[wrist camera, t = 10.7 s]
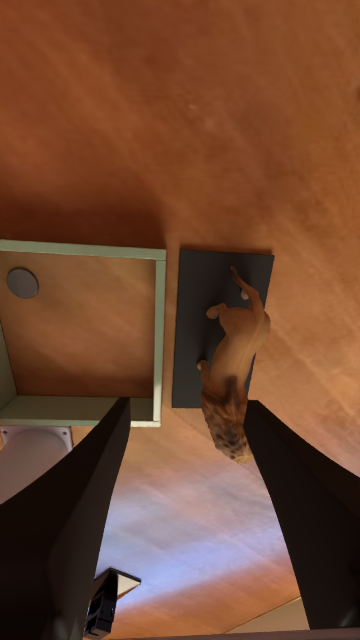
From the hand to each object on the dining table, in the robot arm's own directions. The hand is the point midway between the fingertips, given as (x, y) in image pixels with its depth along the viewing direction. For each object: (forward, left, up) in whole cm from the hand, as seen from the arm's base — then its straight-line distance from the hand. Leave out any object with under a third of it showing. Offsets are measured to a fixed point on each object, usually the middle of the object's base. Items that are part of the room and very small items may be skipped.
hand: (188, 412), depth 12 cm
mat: (+1, -4, -10) cm, 11 cm away
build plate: (-50, +11, -10) cm, 53 cm away
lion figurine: (+1, -5, -10) cm, 11 cm away
